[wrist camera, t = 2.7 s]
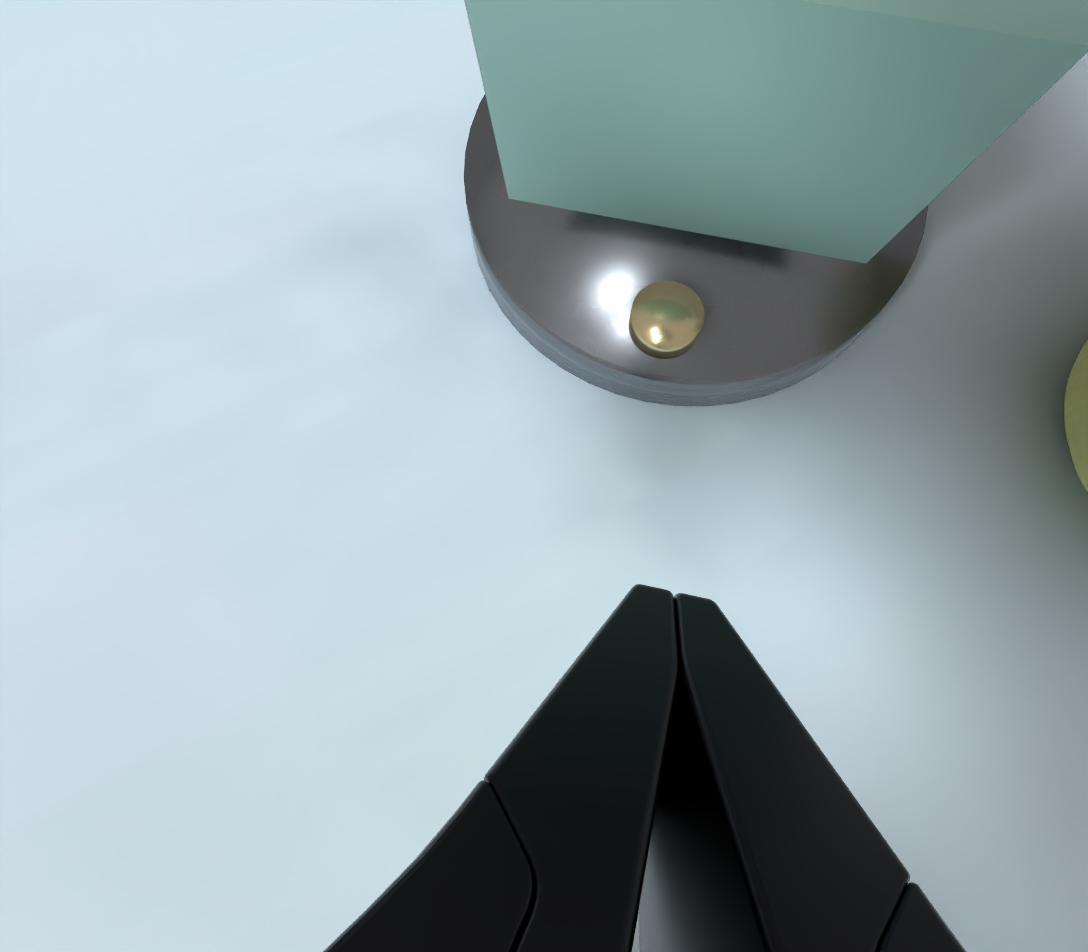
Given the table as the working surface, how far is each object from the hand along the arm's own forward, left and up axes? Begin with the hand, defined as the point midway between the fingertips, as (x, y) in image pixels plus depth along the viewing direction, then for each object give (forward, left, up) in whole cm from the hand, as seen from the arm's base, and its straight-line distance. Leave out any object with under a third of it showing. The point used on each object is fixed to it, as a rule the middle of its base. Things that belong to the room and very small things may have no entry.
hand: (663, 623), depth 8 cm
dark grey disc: (+10, -11, -13) cm, 20 cm away
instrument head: (+10, -12, -9) cm, 18 cm away
